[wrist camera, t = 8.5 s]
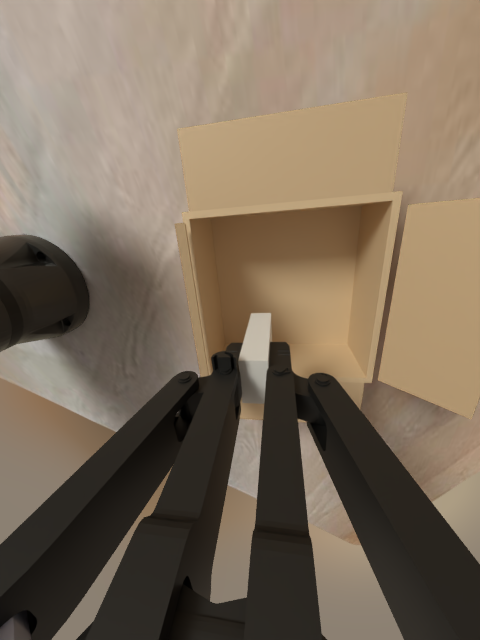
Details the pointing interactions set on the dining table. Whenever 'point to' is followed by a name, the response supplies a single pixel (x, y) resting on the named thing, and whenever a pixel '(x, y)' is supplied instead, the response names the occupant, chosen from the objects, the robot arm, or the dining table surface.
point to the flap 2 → (437, 307)
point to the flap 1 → (191, 296)
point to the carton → (296, 231)
